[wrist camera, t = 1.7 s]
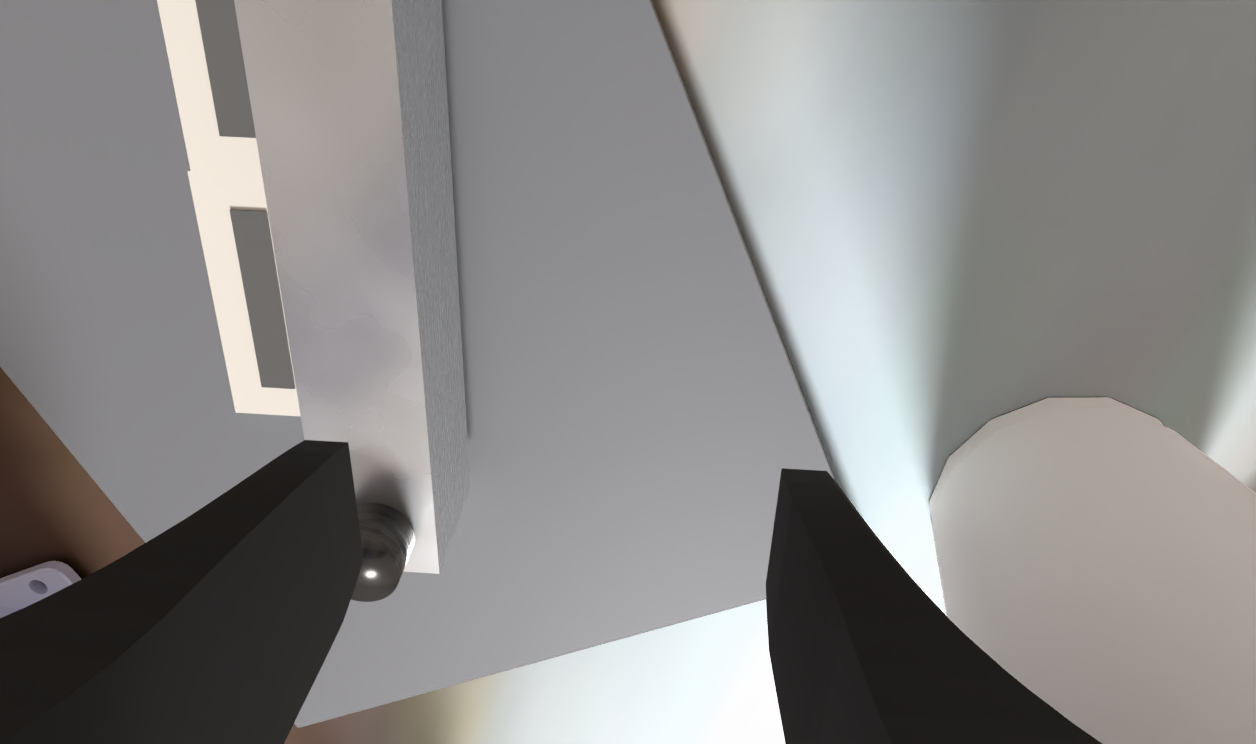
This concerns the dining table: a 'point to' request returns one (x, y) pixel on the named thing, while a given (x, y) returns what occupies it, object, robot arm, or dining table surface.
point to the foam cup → (1105, 570)
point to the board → (490, 328)
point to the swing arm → (367, 257)
